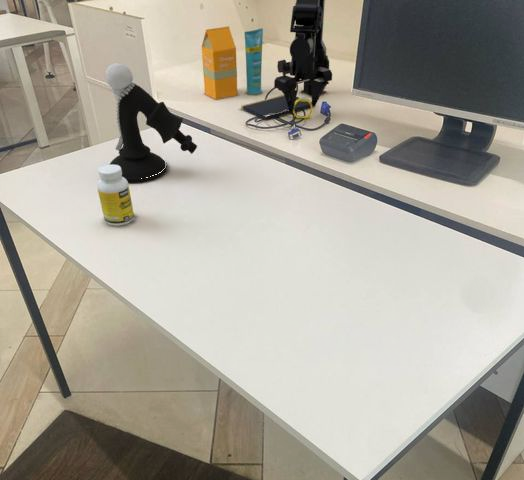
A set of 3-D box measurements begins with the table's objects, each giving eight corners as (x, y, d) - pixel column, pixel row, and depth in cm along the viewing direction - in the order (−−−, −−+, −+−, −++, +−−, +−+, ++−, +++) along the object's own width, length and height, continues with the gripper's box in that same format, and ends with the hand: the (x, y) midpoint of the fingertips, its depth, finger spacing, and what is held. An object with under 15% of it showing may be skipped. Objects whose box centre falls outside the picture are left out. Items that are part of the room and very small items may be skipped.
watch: (292, 119, 164) (293, 99, 160) (292, 116, 167) (292, 96, 163) (312, 119, 164) (313, 99, 160) (311, 116, 167) (312, 96, 163)
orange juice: (237, 94, 183) (235, 28, 169) (215, 99, 179) (211, 32, 166) (226, 89, 188) (223, 24, 174) (204, 93, 184) (199, 27, 171)
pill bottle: (120, 229, 114) (109, 178, 106) (98, 222, 117) (86, 171, 109) (140, 217, 118) (131, 166, 110) (119, 210, 121) (109, 160, 113)
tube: (251, 96, 181) (250, 32, 168) (241, 93, 184) (239, 30, 171) (266, 92, 185) (266, 29, 172) (257, 89, 188) (256, 26, 175)
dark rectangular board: (288, 97, 181) (288, 93, 180) (313, 106, 173) (313, 103, 172) (241, 109, 172) (241, 105, 171) (266, 120, 164) (266, 116, 163)
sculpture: (117, 157, 143) (98, 54, 126) (204, 160, 142) (195, 56, 125) (100, 182, 132) (76, 72, 115) (194, 185, 130) (183, 74, 113)
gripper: (310, 42, 162) (307, 96, 173) (262, 52, 154) (262, 108, 164) (335, 49, 156) (331, 105, 166) (287, 60, 147) (285, 118, 158)
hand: (302, 109), depth 164 cm, fingers open, 9 cm apart
